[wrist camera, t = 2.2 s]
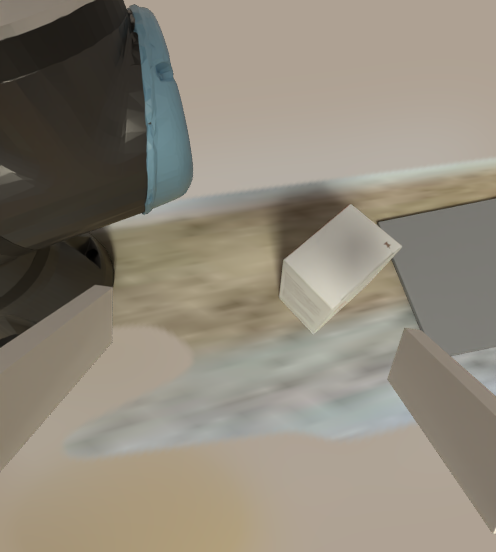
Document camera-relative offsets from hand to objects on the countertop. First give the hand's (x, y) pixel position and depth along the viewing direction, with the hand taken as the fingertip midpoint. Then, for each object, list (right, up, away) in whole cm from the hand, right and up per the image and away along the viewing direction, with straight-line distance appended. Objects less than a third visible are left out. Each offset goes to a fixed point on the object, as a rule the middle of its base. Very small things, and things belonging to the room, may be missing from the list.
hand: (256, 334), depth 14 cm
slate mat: (+25, +3, +20) cm, 32 cm away
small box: (+8, +1, +20) cm, 21 cm away
